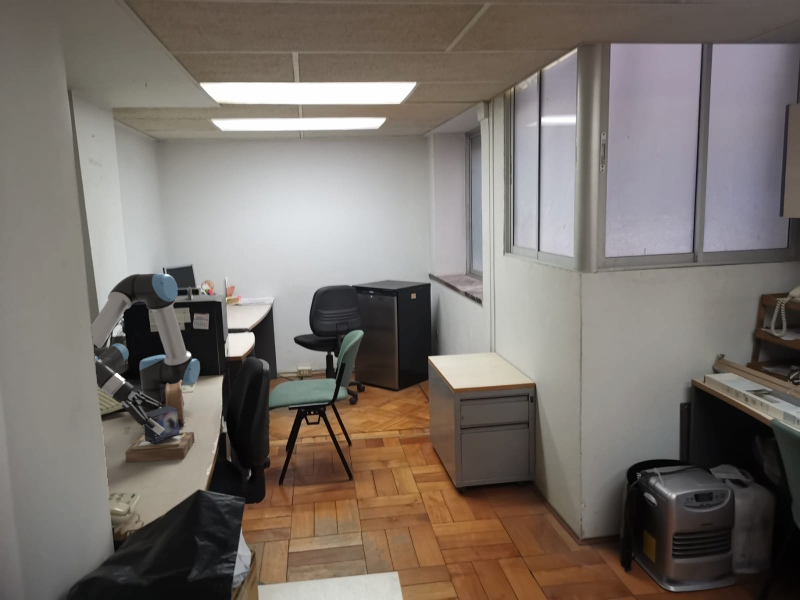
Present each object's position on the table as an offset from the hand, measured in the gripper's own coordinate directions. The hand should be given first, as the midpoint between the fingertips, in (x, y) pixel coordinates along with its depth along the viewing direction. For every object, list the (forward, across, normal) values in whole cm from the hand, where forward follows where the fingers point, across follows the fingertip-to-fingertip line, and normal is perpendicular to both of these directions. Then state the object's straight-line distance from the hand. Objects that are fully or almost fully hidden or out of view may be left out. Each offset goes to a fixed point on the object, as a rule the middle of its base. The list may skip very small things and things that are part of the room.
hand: (166, 426), depth 222 cm
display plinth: (+5, 0, -9) cm, 10 cm away
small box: (+2, 0, -5) cm, 5 cm away
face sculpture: (+3, -32, -11) cm, 34 cm away
